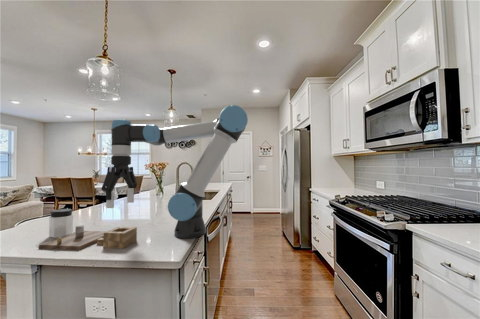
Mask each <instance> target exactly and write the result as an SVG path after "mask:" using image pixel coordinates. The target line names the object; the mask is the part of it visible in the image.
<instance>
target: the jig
mask: <svg viewBox="0 0 480 319" xmlns="http://www.w3.org/2000/svg"><path fill="white" fill-rule="evenodd" d="M107 231H108V230H107ZM107 231H106V230H105V231H104V230H102V231H101V230H85V225H76V226H75V232H73V233H71V234H68V235H65V236H63V237H58V238H53V239H52V240H48V241H46V242H43V243H40V244H38V249H41V250H42V249H43V250H44V249H47V250H69V251H81V250H83V249H86V248H87V247H90V246H92V245H94V244H97V239H100V238H104V232H107Z"/></svg>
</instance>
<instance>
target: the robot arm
mask: <svg viewBox="0 0 480 319" xmlns="http://www.w3.org/2000/svg"><path fill="white" fill-rule="evenodd" d="M246 112H247V111H245V109H244V108H243V107H241V106H239V105H236V104H231V105H227V106H225V107H224V108H223V109H222V110H221V112H219V113H220V114H219V116H218V118H215V120H212V121H210V120H209V121H205V122H204V121H203V122H198V123H191V124H184V125H176V126H170V127H164V128H163V127H162V128H159V126H158V125H157V124H150V123H148V124H132V122H131V120H128V119H123V118H115V119H113V120H112V122H111V129H110V131H111V155H112V156H111V157H110V160H111V162H110V164H111V165H112V166H108V167H107V173H106V176H105V178H104V181H103V183H102V186H101V191H103V193H105V200H106V202H105V204H106V205H105V206H106V207H105V208H106V209H114V207H115V191H113V190H114V188H115V187H116V185H117V183H118V181H119V180H120V178H122V179H123V180H124V182H125V183H126V186H127V189H126V191H127V192H126V196H127V197H126V200H127V202H126V203H128V204H129V203H131V204H132V203H135V191H134V190H135V189H137V186H138V183H137V180H136V176H135V173H134V167H133V166H129V165H132V157H131V155H132V143H146V144H149V145H152V146H162V145H163V144H168V143H169V144H170V143H176V142H184V141H191V140H197V139H198V140H199V139H206V138H211V139H210V141H209V142H208V144H207V146H206V148H205V149H204V151H203V152H202V155H201V156H200V158H199V160H198V161H197V163H196V165H195V166H194V168H193V170H192V171H191V173H190V175H189V177H188V179H187V180H186V181H184V182H181V184H179V187H178V188H177V190H176V192H175V194H173V195H172V196H171V197H170V198H169V200H168V202H167V210H168V213H169V215H170V216H171V217H172V218H173V219H174V220H176V221H177V222H176V224H175V228H174V233H173V234H174V237H176V238H178V239H179V238H180V239H195V238H199V237H203V236H205V235H206V234H207V226H206V224H205V222H204V221H205V220H204V218H203V213H204V212H203V201H204V198H206V193H205V190H206V189H207V187H208V186H209V183H210V181H211V180H212V178H213V177H214V175H215V174H216V171H217V170H218V169H219V166H220V165H221V163H222V161H223V160H224V158H225V156H226V154H227V152H228V151H229V149H230V148H231V145H233V144H236V143H237V142H238V140H239V138H240V137H241V135H242V134H243V133H244V131H245V129H246V127H247V125H248V120H249V119H248V115H247V113H246Z"/></svg>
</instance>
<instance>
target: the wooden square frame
mask: <svg viewBox="0 0 480 319" xmlns="http://www.w3.org/2000/svg"><path fill="white" fill-rule="evenodd" d="M137 228H138V227H136V226H134V227H133V226H131V227H130V226H117V227H114V228H112V229H110V230H107V232H104V238H100V239H97V242H96V245H103V246H102V247H103V248H104V249H105V248H107V249H108V248H109V249H126V248H128V247H129V246H131V245H132V244H134V243H136V242H137V241H138V240H137V239H138V238H137V237H138V235H137V234H138V232H137V231H138V229H137Z"/></svg>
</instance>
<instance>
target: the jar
mask: <svg viewBox="0 0 480 319" xmlns="http://www.w3.org/2000/svg"><path fill="white" fill-rule="evenodd" d="M48 220H49V225H48V237H49V238H51V239H52V238H53V239H57V238H59V237H63V236H65V235H68V234H71V233H74V232H73V230H74V228H73V227H74V226H73V225H74V214H73V209H71V208H61V209H53V210H51V211H50V216H49V219H48Z"/></svg>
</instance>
